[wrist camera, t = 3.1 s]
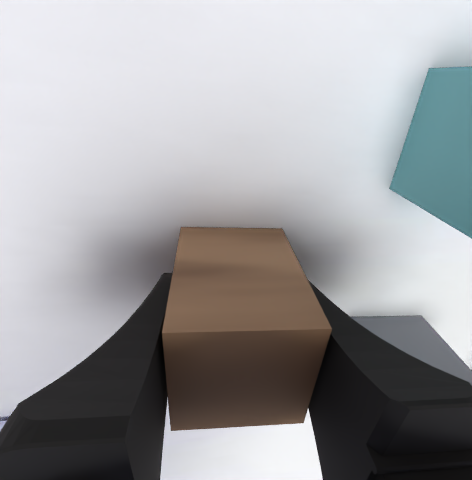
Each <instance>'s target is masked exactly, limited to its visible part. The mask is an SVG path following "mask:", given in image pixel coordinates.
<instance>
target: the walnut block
mask: <svg viewBox="0 0 472 480" xmlns="http://www.w3.org/2000/svg"><path fill="white" fill-rule="evenodd" d="M331 331H332V328H331V326H330V324H329V322H328V320H327V318H326V316H325V314H324V312H323V310H322V308H321V306H320V304H319V302H318V300H317V298H316V296H315V294H314V292H313V290H312V288H311V286H310V284H309V282H308V280H307V278H306V276H305V274H304V272H303V270H302V268H301V266H300V264H299V262H298V260H297V258H296V256H295V254H294V252H293V250H292V248H291V246H290V244H289V242H288V240H287V238H286V236H285V234H284V232H283V229H281V228H208V227H181V230H180V235H179V241H178V246H177V252H176V257H175V263H174V269H173V274H172V280H171V285H170V291H169V296H168V302H167V307H166V313H165V319H164V324H163V330H162V339H163V350H164V361H165V372H166V383H167V393H168V404H169V415H170V426H171V431H176V430H193V429H210V428H227V427H244V426H262V425H279V424H296V423H304V419H305V416H306V413H307V409H308V406H309V403H310V400H311V396H312V393H313V390H314V386H315V383H316V380H317V377H318V373H319V370H320V367H321V363H322V360H323V357H324V354H325V350H326V347H327V344H328V340H329V337H330V334H331Z"/></svg>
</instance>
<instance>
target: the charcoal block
mask: <svg viewBox="0 0 472 480" xmlns="http://www.w3.org/2000/svg"><path fill="white" fill-rule="evenodd" d="M351 318H352V319H354V320H355V321H356V322H358V323H359V324H360V325H362V326H363V327H365V328H366V329H368V330H369V331H371V332H372V333H374V334H375V335H377V336H378V337H380V338H381V339H383V340H385V341H386V342H388V343H390V344H392V345H393V346H395V347H397V348H398V349H400V350H402V351H404V352H406V353H407V354H409V355H411V356H413V357H415V358H417V359H419V360H421V361H423V362H425V363H427V364H429V365H431V366H433V367H435V368H438V369H440V370H442V371H445V372H447V373H449V374H451V375H454V376H456V377H458V378H461V379H463V380H465V381H468V382H469V383H470V384H471V385H472V371H471V370H470V369H469V367H468V366H467V365H466V364H465V363H464V362H463V361H462V360H461V359H460V358H459V356H458V355H457V354H456V353H455V352H454V351H453V350H452V349H451V348H450V346H449V345H448V344H447V343H446V342H445V341H444V340H443V339H442V338H441V337H440V335H439V334H438V333H437V332H436V331H435V330H434V329H433V328H432V327H431V326H430V324H429V323H428V322H427V321H426V320H425V319H424V318H423V317H422V316H373V317H351Z"/></svg>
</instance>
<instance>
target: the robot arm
mask: <svg viewBox="0 0 472 480" xmlns="http://www.w3.org/2000/svg"><path fill="white" fill-rule="evenodd" d="M172 274H173V273H164V274H163V275H162V276H161V278H160V279H159V281H158V282H157V284H156V285H155V287H154V288H153V290H152V291H151V293H150V294H149V295H148V297H147V298H146V299H145V300H144V302H143V303H142V304H141V306H140V307H139V308H138V309H137V310H136V311H135V313H134V314H133V315H132V316H131V317H130V318H129V319H128V321H127V322H126V323H125V324H124V325H123V326H122V327H121V328H120V329H119V330H118V331H117V332H116V333H115V334H114V335H113V336H112V337H111V338H110V339H109V340H107V341H106V342H105V343H104V344H103V345H102V346H101V347H99V348H98V349H97V350H96V351H95V352H94V353H92V354H91V355H90V356H89V357H88V358H86V359H85V360H84V361H82V362H81V363H80V364H78V365H77V366H76V367H74V368H73V369H71V370H70V371H69V372H67V373H66V374H65V375H63V376H62V377H60V378H59V379H57V380H56V381H54V382H53V383H51V384H49V385H48V386H46V387H45V388H43V389H41V390H40V391H38V392H37V393H35V394H33V395H32V396H30V397H29V398H27V399H25V400H24V401H22V402H20V403H19V404H18V406H17V407H16V409H15V410H14V411H13V413H12V414H11V415H10V417H9V418H8V420H7V421H0V480H160V472H161V461H162V449H163V438H164V427H165V417H166V407H167V397H168V393H167V383H166V372H165V361H164V350H163V339H162V330H163V324H164V319H165V313H166V307H167V302H168V296H169V291H170V285H171V280H172ZM308 282H309V284H310V286H311V288H312V290H313V292H314V294H315V296H316V298H317V300H318V302H319V304H320V306H321V308H322V310H323V312H324V314H325V316H326V318H327V320H328V322H329V324H330V326H331V328H332V331H331V334H330V337H329V340H328V344H327V347H326V350H325V354H324V357H323V360H322V363H321V367H320V370H319V373H318V377H317V380H316V383H315V386H314V390H313V393H312V396H311V400H310V403H309V406H308V408H309V412H310V417H311V422H312V426H313V431H314V435H315V440H316V445H317V450H318V455H319V460H320V465H321V471H322V476H323V480H472V385H471V384H470V383H469V382H468V381H465V380H463V379H461V378H458V377H456V376H454V375H451V374H449V373H447V372H445V371H442V370H440V369H438V368H435V367H433V366H431V365H429V364H427V363H425V362H423V361H421V360H419V359H417V358H415V357H413V356H411V355H409V354H407V353H406V352H404V351H402V350H400V349H398V348H397V347H395V346H393V345H392V344H390V343H388V342H386V341H385V340H383V339H381V338H380V337H378V336H377V335H375V334H374V333H372V332H371V331H369V330H368V329H366V328H365V327H363V326H362V325H360V324H359V323H358V322H356V321H355V320H354V319H352V318H351V317H350V316H348V315H347V314H346V313H345V312H343V311H342V310H341V309H340V308H338V307H337V306H336V305H335V304H334V303H333V302H331V301H330V300H329V299H328V298H327V297H326V296H325V295H323V294H322V293H321V292H320V291H319V290H318V289H317V288H316V287H315V286H314V285H313V284H312V283H311V282H310V281H309V280H308Z"/></svg>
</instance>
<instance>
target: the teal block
mask: <svg viewBox="0 0 472 480" xmlns="http://www.w3.org/2000/svg"><path fill="white" fill-rule="evenodd" d="M389 189H391V190H392V191H394V192H396V193H397V194H399V195H401V196H402V197H404V198H406V199H407V200H409V201H411V202H412V203H414V204H415V205H417V206H419V207H420V208H422V209H424V210H425V211H427V212H429V213H430V214H432V215H434V216H435V217H437V218H439V219H440V220H442V221H444V222H445V223H447V224H449V225H450V226H452V227H454V228H455V229H457V230H459V231H460V232H462V233H464V234H465V235H467V236H468V237H470V238H472V67H450V68H429V70H428V73H427V76H426V79H425V82H424V85H423V88H422V91H421V94H420V97H419V100H418V103H417V106H416V110H415V113H414V116H413V119H412V122H411V125H410V128H409V131H408V134H407V137H406V140H405V143H404V146H403V149H402V152H401V155H400V158H399V161H398V164H397V167H396V170H395V173H394V176H393V179H392V182H391V185H390V188H389Z"/></svg>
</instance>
